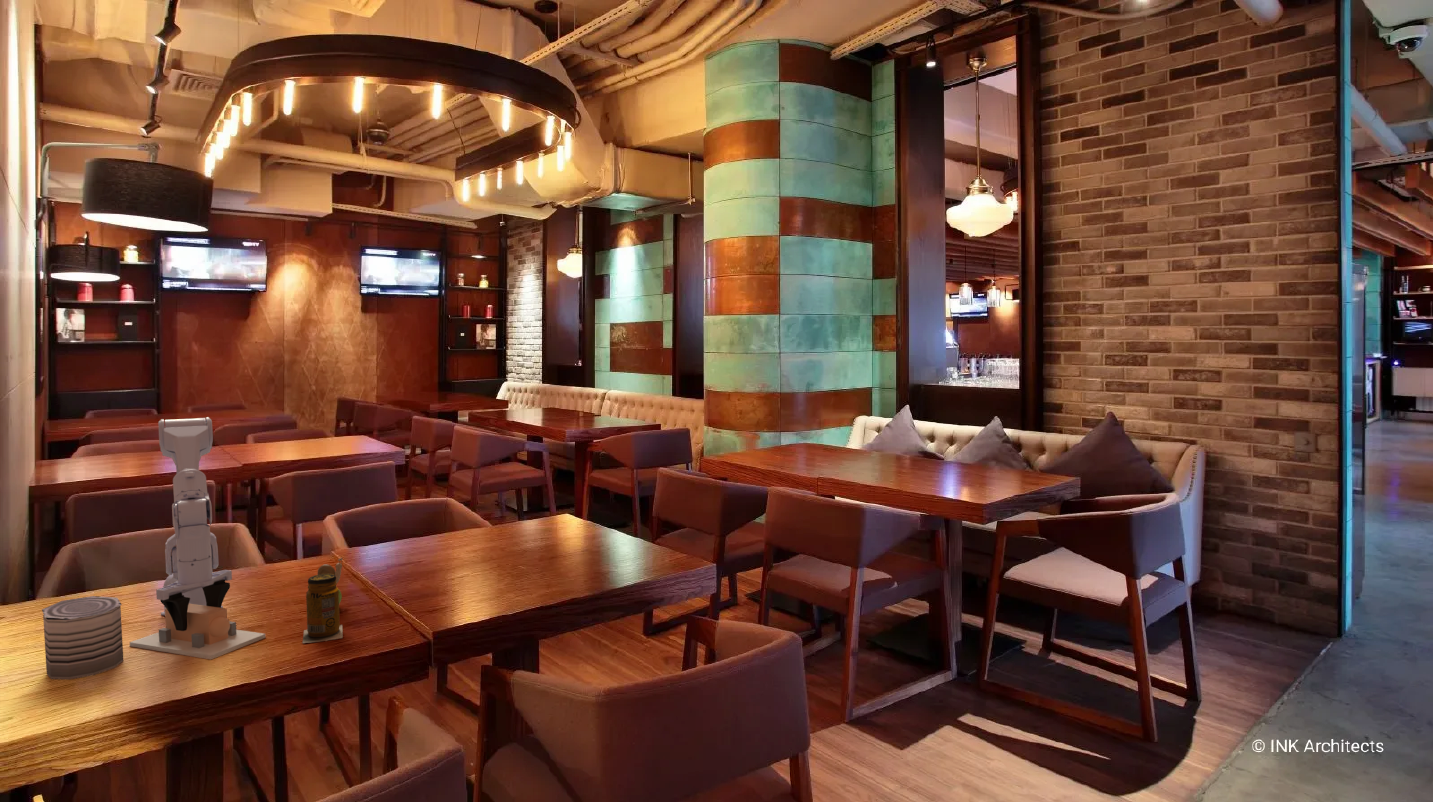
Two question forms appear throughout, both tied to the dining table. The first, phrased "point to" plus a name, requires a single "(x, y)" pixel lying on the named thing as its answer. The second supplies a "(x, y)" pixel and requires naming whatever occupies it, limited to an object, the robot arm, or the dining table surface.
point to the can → (82, 637)
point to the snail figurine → (332, 572)
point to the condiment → (322, 609)
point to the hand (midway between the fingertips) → (197, 624)
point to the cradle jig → (198, 643)
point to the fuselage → (201, 624)
